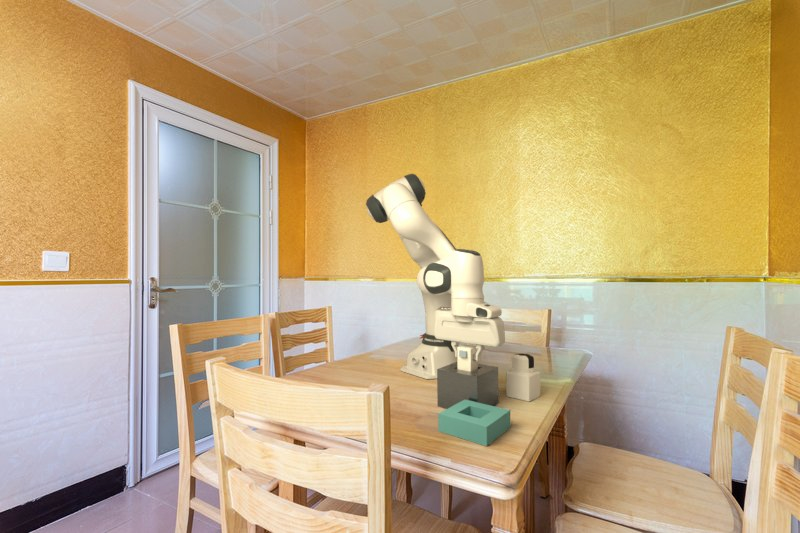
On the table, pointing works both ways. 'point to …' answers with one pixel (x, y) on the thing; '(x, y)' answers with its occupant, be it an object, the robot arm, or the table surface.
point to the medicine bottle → (523, 378)
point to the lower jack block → (474, 421)
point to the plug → (467, 358)
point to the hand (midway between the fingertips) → (467, 359)
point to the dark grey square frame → (467, 385)
